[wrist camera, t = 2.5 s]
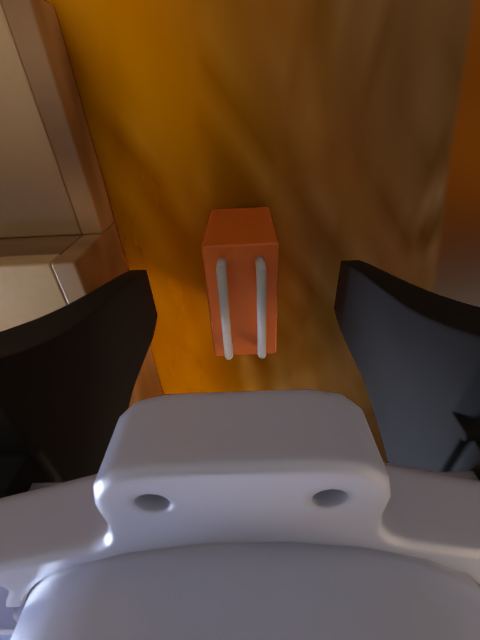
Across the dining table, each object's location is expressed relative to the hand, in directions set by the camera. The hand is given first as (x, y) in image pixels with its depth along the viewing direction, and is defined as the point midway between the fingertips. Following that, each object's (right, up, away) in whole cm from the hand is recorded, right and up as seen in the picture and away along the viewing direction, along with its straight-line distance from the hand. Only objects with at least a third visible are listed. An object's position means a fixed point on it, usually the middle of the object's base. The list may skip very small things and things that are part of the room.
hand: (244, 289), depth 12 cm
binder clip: (0, +2, +2) cm, 3 cm away
